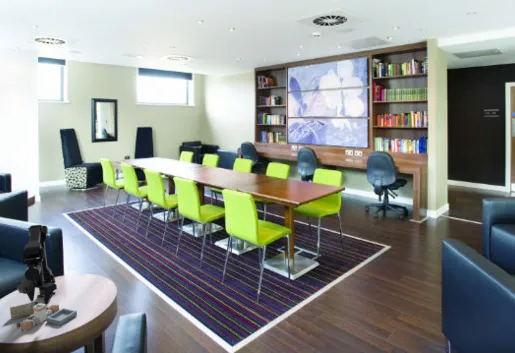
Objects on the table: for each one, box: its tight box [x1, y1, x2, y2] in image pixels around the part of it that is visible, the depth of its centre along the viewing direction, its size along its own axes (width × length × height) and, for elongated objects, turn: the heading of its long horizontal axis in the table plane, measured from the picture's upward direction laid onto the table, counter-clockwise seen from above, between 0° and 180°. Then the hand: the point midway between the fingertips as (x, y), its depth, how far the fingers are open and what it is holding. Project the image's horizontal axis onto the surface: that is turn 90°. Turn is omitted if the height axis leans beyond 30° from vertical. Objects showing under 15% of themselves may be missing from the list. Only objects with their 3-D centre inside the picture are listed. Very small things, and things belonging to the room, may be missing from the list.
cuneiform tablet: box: [9, 301, 39, 320], centre depth 179 cm, size 7×4×12 cm
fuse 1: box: [19, 318, 33, 332], centre depth 168 cm, size 3×3×4 cm
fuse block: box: [16, 306, 53, 328], centre depth 175 cm, size 7×16×2 cm, turn 160°
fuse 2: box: [49, 303, 60, 314], centre depth 182 cm, size 3×3×4 cm
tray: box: [46, 307, 78, 326], centre depth 176 cm, size 9×10×2 cm
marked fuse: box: [32, 302, 47, 324], centre depth 174 cm, size 4×4×8 cm
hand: (39, 302), depth 174 cm, fingers open, 9 cm apart
